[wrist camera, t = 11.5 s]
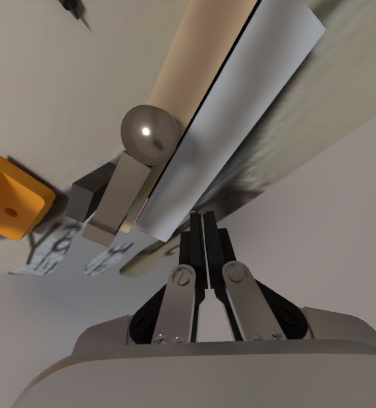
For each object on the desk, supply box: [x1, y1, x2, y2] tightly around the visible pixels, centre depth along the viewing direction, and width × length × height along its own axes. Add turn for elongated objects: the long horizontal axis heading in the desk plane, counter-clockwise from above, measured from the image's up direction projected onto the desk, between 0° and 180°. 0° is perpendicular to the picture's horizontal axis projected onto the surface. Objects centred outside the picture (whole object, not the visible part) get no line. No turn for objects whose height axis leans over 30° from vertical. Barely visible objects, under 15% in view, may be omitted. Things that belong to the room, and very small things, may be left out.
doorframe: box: [65, 0, 326, 242], centre depth 15 cm, size 12×28×7 cm, turn 148°
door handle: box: [82, 105, 179, 247], centre depth 14 cm, size 14×4×4 cm, turn 145°
